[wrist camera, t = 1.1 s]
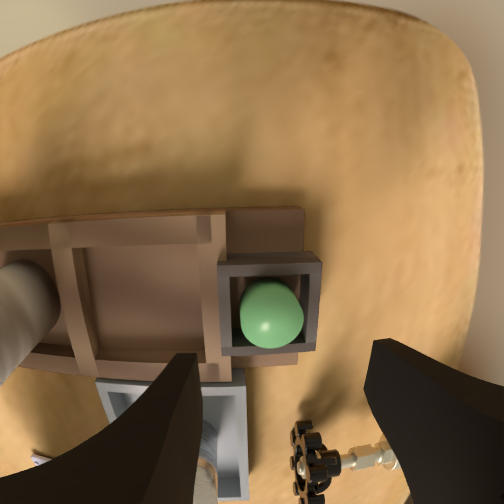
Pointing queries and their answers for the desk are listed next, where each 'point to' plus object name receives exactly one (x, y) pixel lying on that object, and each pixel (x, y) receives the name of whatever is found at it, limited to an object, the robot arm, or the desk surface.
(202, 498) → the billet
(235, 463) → the tote
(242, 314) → the button
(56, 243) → the brown compartment tray
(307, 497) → the valve
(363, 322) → the desk surface
